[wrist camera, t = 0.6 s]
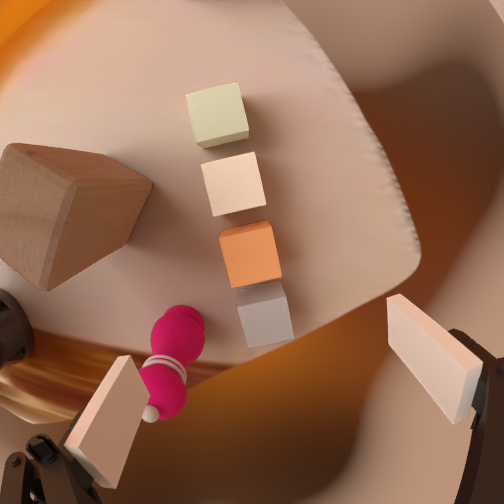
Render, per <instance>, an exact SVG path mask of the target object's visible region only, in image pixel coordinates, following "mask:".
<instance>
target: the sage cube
mask: <svg viewBox="0 0 504 504" xmlns="http://www.w3.org/2000/svg"><path fill="white" fill-rule="evenodd" d="M185 96H186V100H187V105H188V110H189V114H190V119H191V123H192V128H193V132H194V137H195V141H196V144H198V145H199V146H200V147H201V148H202V149H205V148H209V147H212V146H216V145H221V144H225V143H229V142H233V141H238V140H242V139H247V138H248V137H249V126H248V122H247V118H246V114H245V110H244V106H243V102H242V98H241V94H240V90H239V86H238V82H235V83H230V84H225V85H221V86H217V87H213V88H208V89H204V90H201V91H197V92H193V93H189V94H186V95H185Z"/></svg>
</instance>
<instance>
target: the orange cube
mask: <svg viewBox="0 0 504 504" xmlns="http://www.w3.org/2000/svg"><path fill="white" fill-rule="evenodd" d="M219 241H220V245H221V249H222V253H223V257H224V261H225V265H226V268H227V272H228V276H229V280H230V284H231V287H232V288H235V287H239V286H244V285H248V284H253V283H257V282H262V281H266V280H270V279H275V278H279V277H282V273H281V268H280V264H279V259H278V254H277V249H276V245H275V240H274V235H273V231H272V226H271V225H270V223H269V222H268V221H267V220H265V221H261V222H256V223H252V224H247V225H243V226H239V227H234V228H230V229H226V230H222V232H221V235H220V237H219Z"/></svg>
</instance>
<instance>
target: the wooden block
mask: <svg viewBox="0 0 504 504" xmlns="http://www.w3.org/2000/svg"><path fill="white" fill-rule="evenodd" d="M151 190H152V182H151V181H150V180H149V179H148V178H146V177H144V176H142V175H140V174H139V173H137V172H135V171H133V170H131V169H129V168H127V167H125V166H123V165H122V164H120V163H118V162H116V161H114V160H112V159H110V158H108V157H106V156H104V155H103V154H97V153H91V152H84V151H77V150H71V149H63V148H56V147H48V146H40V145H31V144H22V143H12V144H9V145H7V146H6V148H5V149H4V151H3V154H2V157H1V160H0V258H1V259H2V260H3V261H5V262H6V263H7V264H8V265H9V266H10V267H12V268H13V269H14V270H15V271H16V272H18V273H19V274H20V275H21V276H23V277H24V278H25V279H26V280H28V281H29V282H30V283H32V284H33V285H34V286H36V287H37V288H38V289H40V290H43V291H50V290H52V289H53V288H55V287H56V286H58V285H60V284H61V283H63V282H64V281H66V280H67V279H69V278H71V277H72V276H74V275H75V274H77V273H79V272H80V271H82V270H84V269H85V268H87V267H88V266H90V265H92V264H93V263H95V262H97V261H98V260H100V259H102V258H104V257H105V256H107V255H109V254H110V253H112V252H114V251H115V250H117V249H119V248H121V247H122V246H124V245H125V244H126V243H127V242H128V239H129V237H130V235H131V232H132V230H133V228H134V226H135V224H136V221H137V219H138V217H139V215H140V213H141V210H142V208H143V206H144V204H145V202H146V200H147V198H148V196H149V194H150V192H151Z"/></svg>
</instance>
